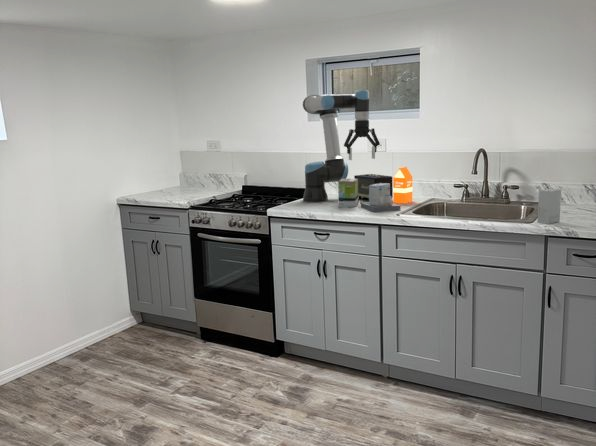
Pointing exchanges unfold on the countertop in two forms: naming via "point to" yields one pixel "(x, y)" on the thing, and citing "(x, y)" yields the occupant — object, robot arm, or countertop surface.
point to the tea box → (347, 192)
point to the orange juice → (402, 186)
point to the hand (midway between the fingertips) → (361, 159)
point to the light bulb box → (379, 193)
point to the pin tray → (381, 206)
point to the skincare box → (549, 206)
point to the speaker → (371, 183)
